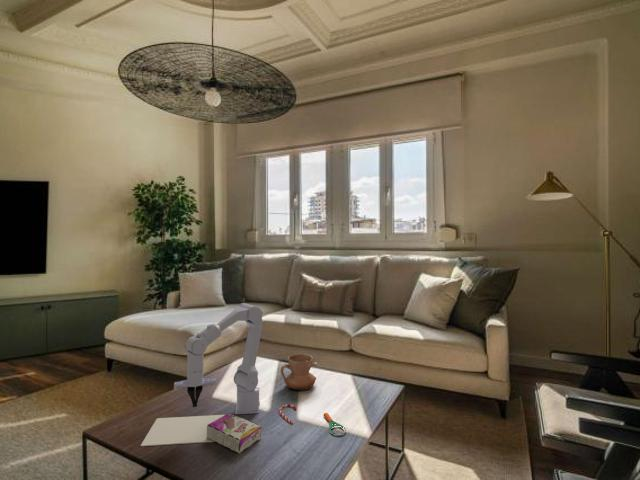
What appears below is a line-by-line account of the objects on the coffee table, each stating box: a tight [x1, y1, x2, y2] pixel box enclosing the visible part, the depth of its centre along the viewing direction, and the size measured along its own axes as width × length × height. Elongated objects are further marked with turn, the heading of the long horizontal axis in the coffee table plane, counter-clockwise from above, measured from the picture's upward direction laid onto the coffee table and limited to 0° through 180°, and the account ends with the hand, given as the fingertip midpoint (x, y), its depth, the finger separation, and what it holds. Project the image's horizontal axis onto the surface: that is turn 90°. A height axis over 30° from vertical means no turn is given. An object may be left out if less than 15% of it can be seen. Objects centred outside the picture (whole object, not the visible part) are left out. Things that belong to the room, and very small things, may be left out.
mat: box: [140, 414, 226, 447], centre depth 133 cm, size 26×18×1 cm
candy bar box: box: [207, 412, 262, 454], centre depth 128 cm, size 11×5×16 cm
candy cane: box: [278, 404, 297, 425], centre depth 145 cm, size 8×1×15 cm
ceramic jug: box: [280, 353, 318, 391], centre depth 172 cm, size 18×14×14 cm
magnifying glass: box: [323, 412, 347, 434], centre depth 138 cm, size 15×6×2 cm, turn 21°
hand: (194, 405), depth 132 cm, fingers closed
